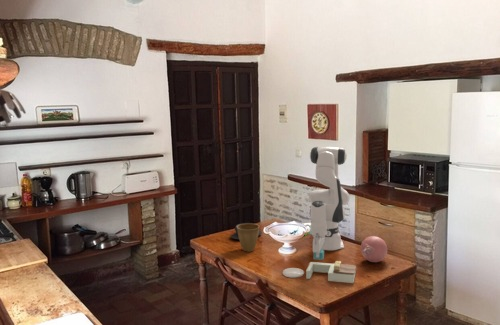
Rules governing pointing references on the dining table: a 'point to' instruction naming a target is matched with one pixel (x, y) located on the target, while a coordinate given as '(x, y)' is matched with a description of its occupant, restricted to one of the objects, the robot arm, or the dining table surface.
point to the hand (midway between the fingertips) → (318, 254)
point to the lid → (343, 268)
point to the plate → (293, 272)
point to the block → (320, 255)
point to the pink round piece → (374, 249)
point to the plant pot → (248, 236)
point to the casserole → (237, 232)
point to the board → (329, 272)
